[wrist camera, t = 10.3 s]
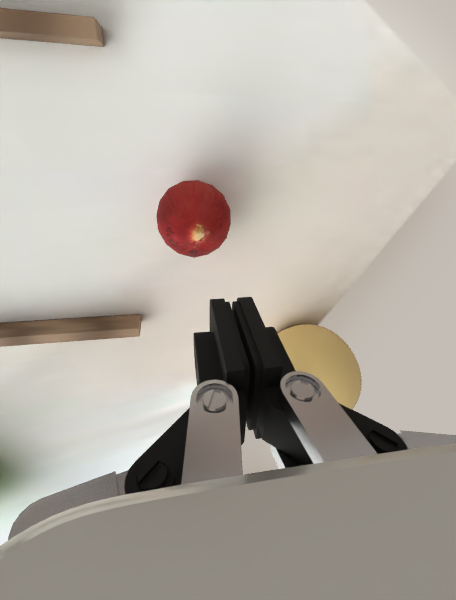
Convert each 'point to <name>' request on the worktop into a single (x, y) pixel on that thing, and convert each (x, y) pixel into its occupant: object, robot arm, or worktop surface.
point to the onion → (193, 218)
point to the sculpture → (324, 360)
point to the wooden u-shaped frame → (73, 329)
